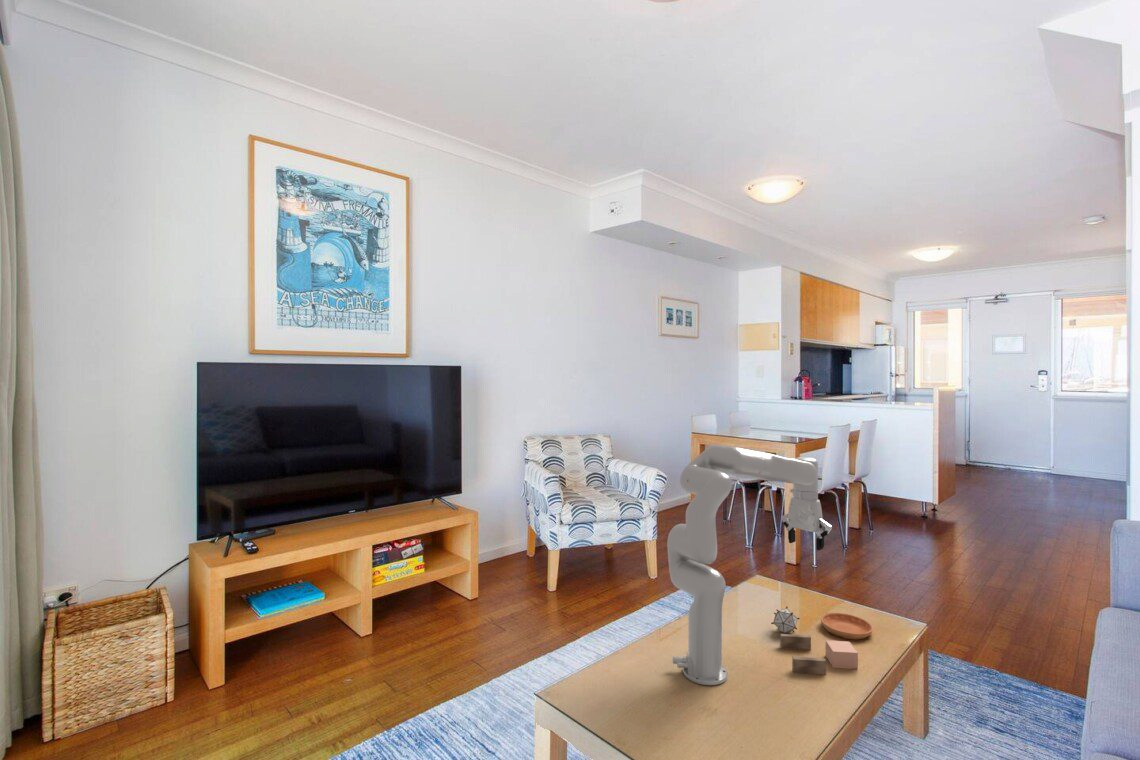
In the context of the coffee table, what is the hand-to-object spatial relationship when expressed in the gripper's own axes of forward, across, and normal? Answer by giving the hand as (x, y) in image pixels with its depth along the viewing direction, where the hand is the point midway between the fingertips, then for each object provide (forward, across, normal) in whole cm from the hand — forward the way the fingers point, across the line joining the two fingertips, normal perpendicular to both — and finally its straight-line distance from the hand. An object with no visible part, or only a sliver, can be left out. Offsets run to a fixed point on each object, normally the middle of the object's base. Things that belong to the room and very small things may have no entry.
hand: (805, 545), depth 186 cm
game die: (+31, -6, -3) cm, 31 cm away
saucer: (+31, +6, +15) cm, 35 cm away
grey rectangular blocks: (+30, +7, -15) cm, 35 cm away
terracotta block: (+31, +15, -7) cm, 35 cm away
